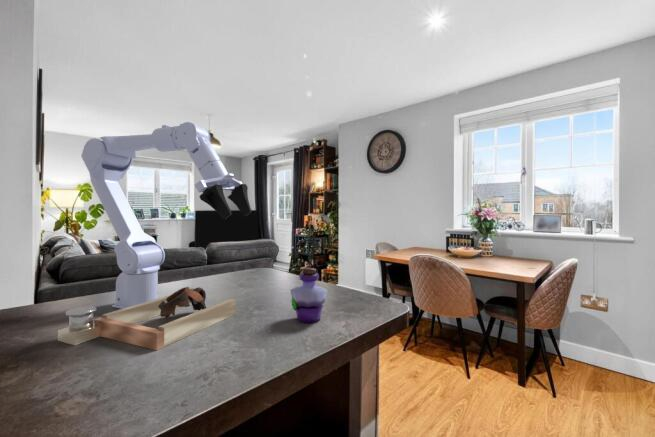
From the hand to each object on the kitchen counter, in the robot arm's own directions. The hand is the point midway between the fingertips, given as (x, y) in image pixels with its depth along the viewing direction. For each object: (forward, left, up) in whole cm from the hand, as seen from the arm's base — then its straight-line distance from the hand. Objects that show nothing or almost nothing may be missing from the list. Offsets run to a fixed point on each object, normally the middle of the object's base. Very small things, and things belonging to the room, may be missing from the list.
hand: (238, 215), depth 73 cm
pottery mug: (-9, -6, -24) cm, 27 cm away
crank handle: (-19, +3, -24) cm, 31 cm away
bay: (-10, -9, -24) cm, 27 cm away
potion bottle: (+16, +5, -24) cm, 30 cm away
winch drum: (-19, -23, -24) cm, 38 cm away
